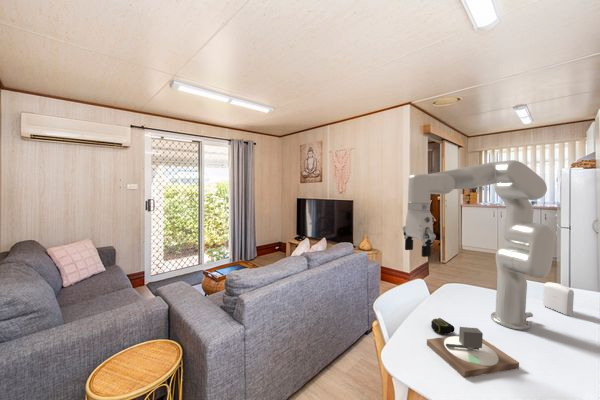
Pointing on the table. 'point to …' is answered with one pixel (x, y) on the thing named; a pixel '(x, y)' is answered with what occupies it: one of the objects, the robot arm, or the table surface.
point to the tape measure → (442, 326)
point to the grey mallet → (469, 338)
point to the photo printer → (558, 298)
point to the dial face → (472, 353)
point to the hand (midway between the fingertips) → (417, 253)
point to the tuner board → (469, 368)
